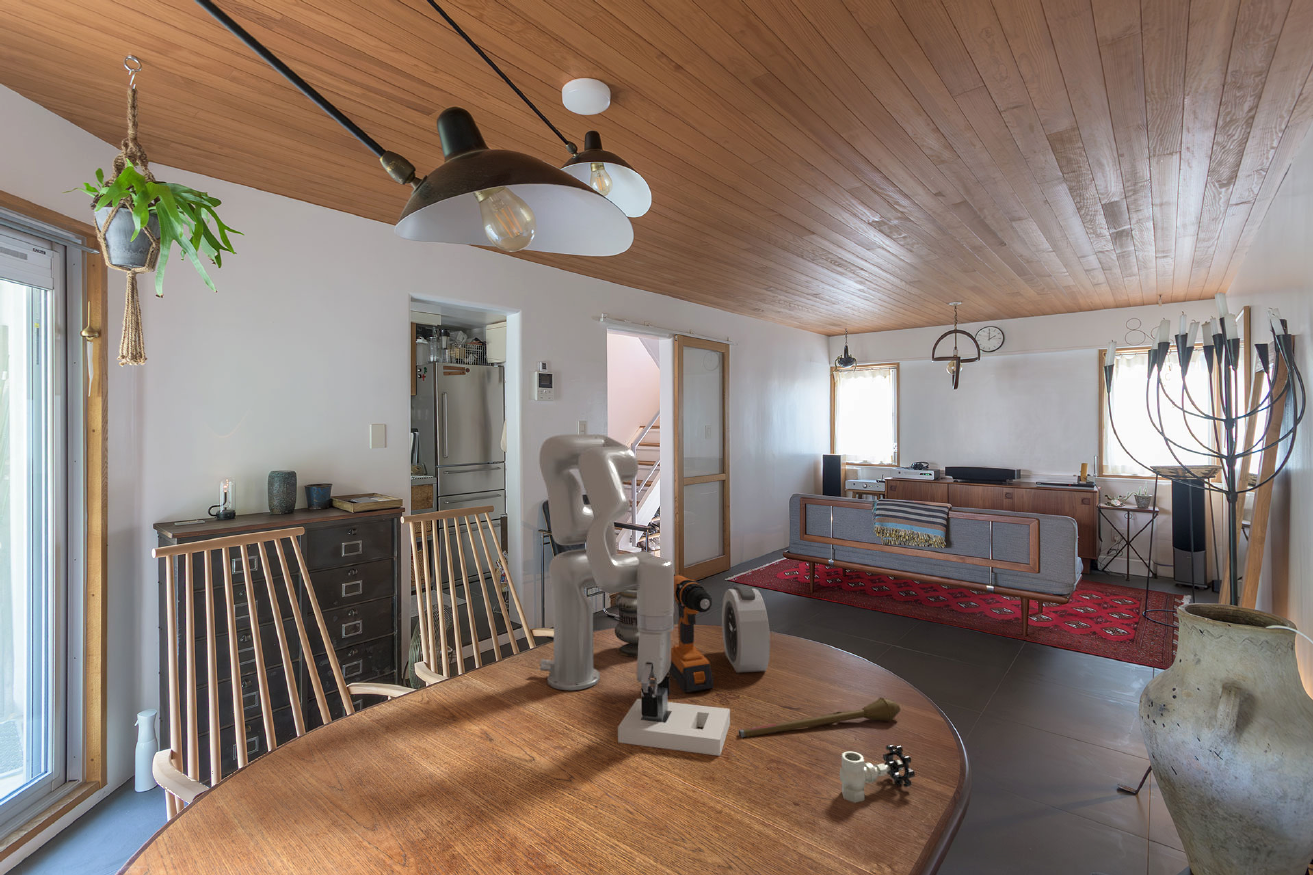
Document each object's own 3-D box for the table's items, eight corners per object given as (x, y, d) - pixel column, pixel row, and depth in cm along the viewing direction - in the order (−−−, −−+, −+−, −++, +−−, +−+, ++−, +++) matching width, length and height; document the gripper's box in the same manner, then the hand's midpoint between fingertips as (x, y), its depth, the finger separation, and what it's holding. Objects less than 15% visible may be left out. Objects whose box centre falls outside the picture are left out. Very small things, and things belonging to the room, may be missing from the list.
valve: (855, 810, 96) (915, 794, 100) (855, 769, 96) (915, 754, 100) (830, 788, 102) (887, 773, 106) (829, 749, 102) (887, 736, 106)
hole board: (618, 742, 117) (618, 726, 117) (637, 712, 130) (637, 698, 130) (720, 755, 112) (719, 739, 112) (729, 723, 125) (729, 708, 125)
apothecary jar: (610, 657, 162) (609, 590, 162) (620, 642, 174) (619, 580, 174) (654, 660, 160) (653, 592, 160) (661, 644, 172) (661, 581, 172)
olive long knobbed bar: (745, 751, 117) (737, 741, 121) (905, 723, 124) (892, 714, 129) (743, 726, 117) (735, 717, 122) (903, 699, 124) (890, 692, 129)
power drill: (725, 702, 134) (725, 590, 134) (694, 707, 132) (693, 593, 132) (692, 667, 155) (692, 570, 155) (665, 670, 153) (664, 572, 153)
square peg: (644, 733, 120) (644, 693, 120) (649, 724, 124) (649, 686, 124) (662, 736, 119) (662, 695, 119) (667, 727, 123) (667, 688, 123)
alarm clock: (721, 648, 168) (721, 577, 168) (748, 647, 169) (747, 576, 169) (740, 678, 147) (740, 598, 147) (770, 677, 148) (770, 596, 148)
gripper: (649, 607, 131) (650, 685, 131) (624, 632, 114) (625, 722, 114) (683, 609, 129) (683, 689, 129) (663, 635, 112) (663, 727, 113)
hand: (656, 704), depth 122 cm, fingers open, 9 cm apart
